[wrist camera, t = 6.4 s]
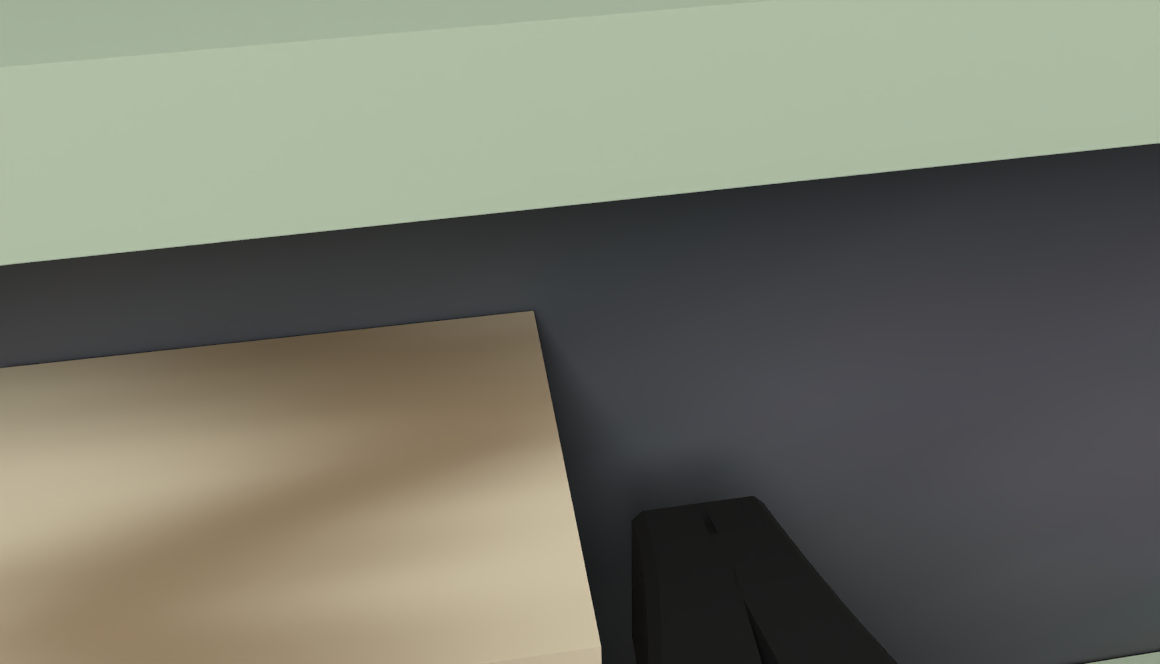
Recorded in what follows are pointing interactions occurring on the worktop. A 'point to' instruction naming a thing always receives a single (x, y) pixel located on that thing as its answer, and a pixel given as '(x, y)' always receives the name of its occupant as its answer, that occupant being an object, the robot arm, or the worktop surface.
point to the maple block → (293, 504)
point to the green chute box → (523, 106)
